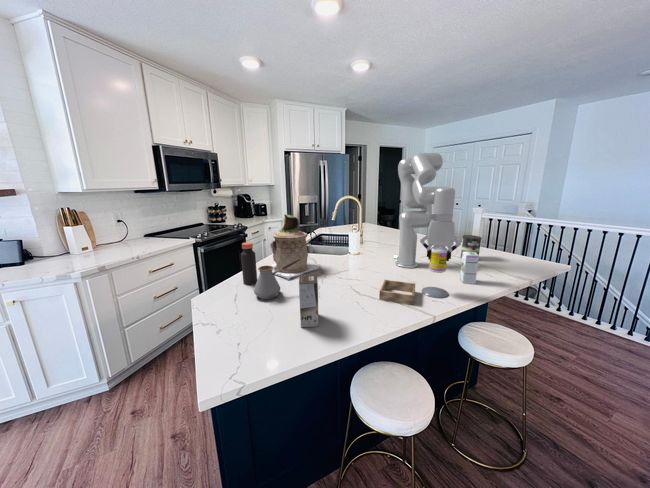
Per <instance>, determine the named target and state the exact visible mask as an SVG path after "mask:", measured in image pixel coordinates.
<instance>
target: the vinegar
mask: <svg viewBox="0 0 650 488" xmlns="http://www.w3.org/2000/svg"><path fill="white" fill-rule="evenodd" d="M253 246H254V245H253V242H250V241H247V242H242V243H241V249H242V252H241V253H240V262H241V269H242V271H241V272H242V281H243V284H245V285H246V286H248V285H249V286H251V285H256V283H257V280H258V274H257V273H258V268H257V259H256V252H255V251H254V250H253Z"/></svg>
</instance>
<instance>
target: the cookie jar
mask: <svg viewBox="0 0 650 488" xmlns="http://www.w3.org/2000/svg"><path fill="white" fill-rule="evenodd" d="M298 226H299V219H298V217H296V216H294V215H291V214H286V213H285V214H284V222H283V226H282V228H280V229H279V230H278V231H275V232H274V233H273V239H274V240H272V241H271V243H270V244H269V245H270V249H271V252H272V253H273V254H272V258H273V262H274V263H273V264H269V265H267V266H273V269H272V273H273V272H275V271H277V270H279V269H281V268H283V267H284V266H286V265H288V264H289V263H292V262H294V261H297V260H299V259H300V261H298V262H296V263H294V264H293V265H292V266H290V267H288V268H285V269H283V270H281V271H279V272H277V273H276V274H274V276H279V277H282V278H283V279H287V280H288V281H289V280H290V279H291V278H295V277H298V276H299V277H300V275H305V274H308V273H310V272H312V271H313V272H314V271H316V270H319V269H320V267H321V266H320V265H318V264H313V263H310V262H308V259H309V258H308V256H309V251H308V245H307V237H308V233H307V232H304V231H301V230H299V229H298ZM300 262H301V263H300Z"/></svg>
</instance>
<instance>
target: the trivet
mask: <svg viewBox="0 0 650 488" xmlns="http://www.w3.org/2000/svg"><path fill="white" fill-rule="evenodd" d="M421 293H422V294H423V295H425V296H427V297H430V298H435V299H445V298H448V296H449V294H450V293H449V292H448V291H447V290H445V289H444V288H440V287H436V286H426V287H422V289H421Z"/></svg>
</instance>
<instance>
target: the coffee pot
mask: <svg viewBox="0 0 650 488" xmlns="http://www.w3.org/2000/svg"><path fill="white" fill-rule="evenodd" d="M298 261H300V259H299V260H297V261H294V262H292V263H289V264H288V265H286V266H284V267H283V268H281V269H279V270H277V271H275V272H273V273H272V269H273V266H268V265H261V266H259V267H257V271H259V275H258V276H257V282H256V283H255V286H254V289H253V293H254V294H255V295H256V297H258V298H259V299H261V300H270V299H274V298H276V297H277V296H278V294H279V293H280V291H281V286H280V283H279V282H278V280H277V278H276V275H275V274H276V273H277V272H279V271H281V270H283V269H285V268H288V267H290V266H292V265H293V264H294V263H296V262H298ZM300 263H301V262H300Z"/></svg>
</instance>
